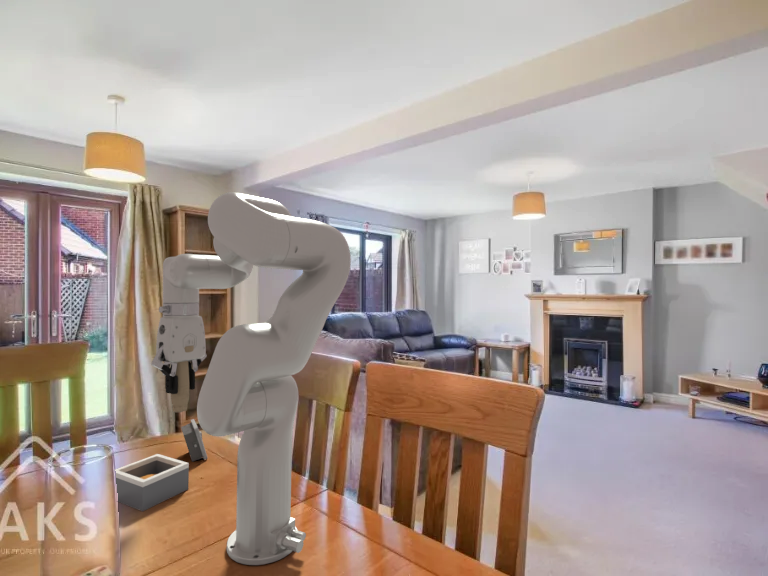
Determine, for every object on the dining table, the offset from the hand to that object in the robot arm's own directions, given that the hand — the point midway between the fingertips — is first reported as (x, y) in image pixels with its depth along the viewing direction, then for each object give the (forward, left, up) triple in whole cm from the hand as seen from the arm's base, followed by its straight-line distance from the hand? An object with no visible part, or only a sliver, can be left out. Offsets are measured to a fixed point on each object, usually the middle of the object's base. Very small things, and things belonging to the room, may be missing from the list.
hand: (180, 390), depth 97 cm
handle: (0, 0, -5) cm, 5 cm away
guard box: (+4, +4, -23) cm, 24 cm away
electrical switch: (+13, -15, -23) cm, 30 cm away
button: (+4, +4, -22) cm, 22 cm away
